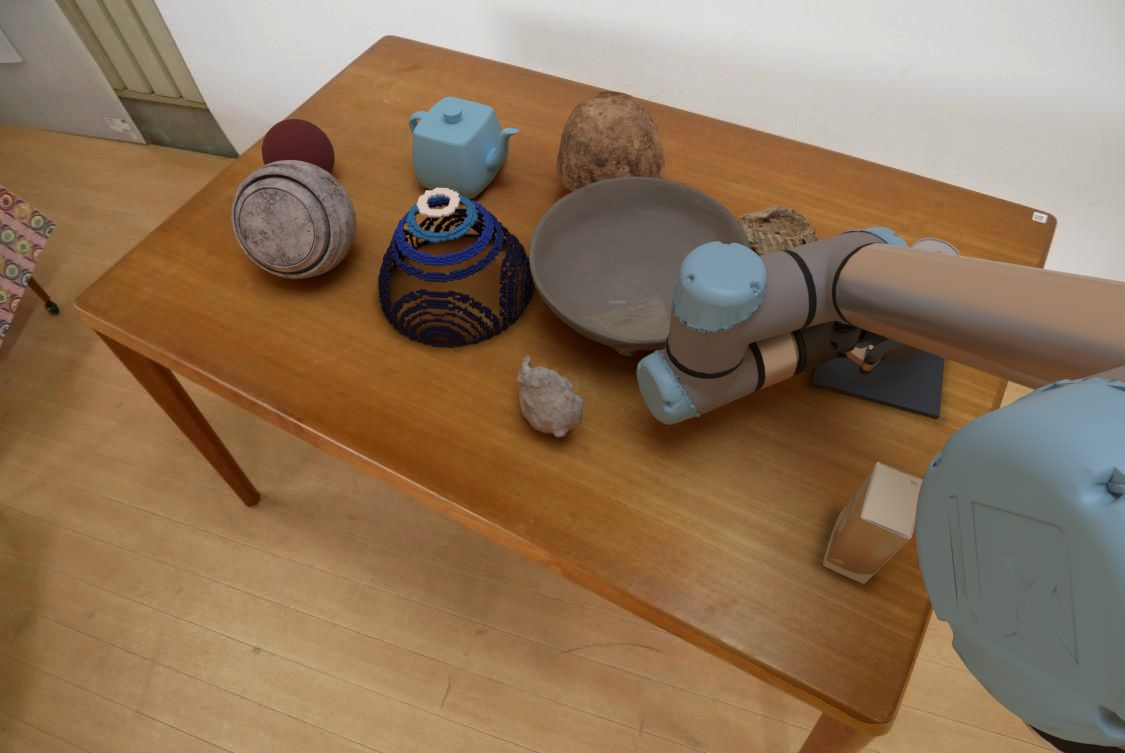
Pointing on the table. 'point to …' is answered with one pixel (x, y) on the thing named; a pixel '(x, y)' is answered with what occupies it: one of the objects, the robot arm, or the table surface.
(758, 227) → the seashell
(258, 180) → the decorative orb
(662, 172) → the brown rounded lump
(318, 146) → the decorative ball
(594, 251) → the bowl
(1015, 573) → the robot arm
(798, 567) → the table surface
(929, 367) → the slate mat
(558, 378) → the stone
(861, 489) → the cosmetic box
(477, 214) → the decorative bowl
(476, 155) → the teapot
